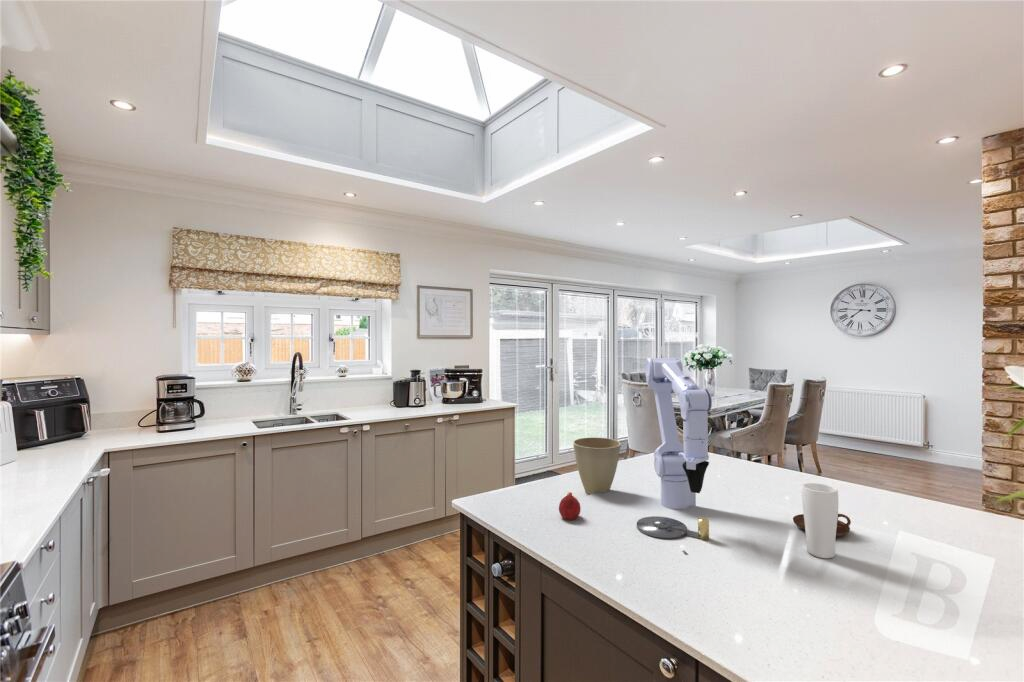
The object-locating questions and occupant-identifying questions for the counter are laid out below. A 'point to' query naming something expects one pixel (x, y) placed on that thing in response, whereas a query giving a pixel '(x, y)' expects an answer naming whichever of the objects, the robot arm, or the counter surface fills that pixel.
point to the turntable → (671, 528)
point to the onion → (569, 507)
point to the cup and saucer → (841, 526)
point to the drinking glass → (820, 518)
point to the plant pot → (596, 462)
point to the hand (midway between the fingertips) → (696, 491)
